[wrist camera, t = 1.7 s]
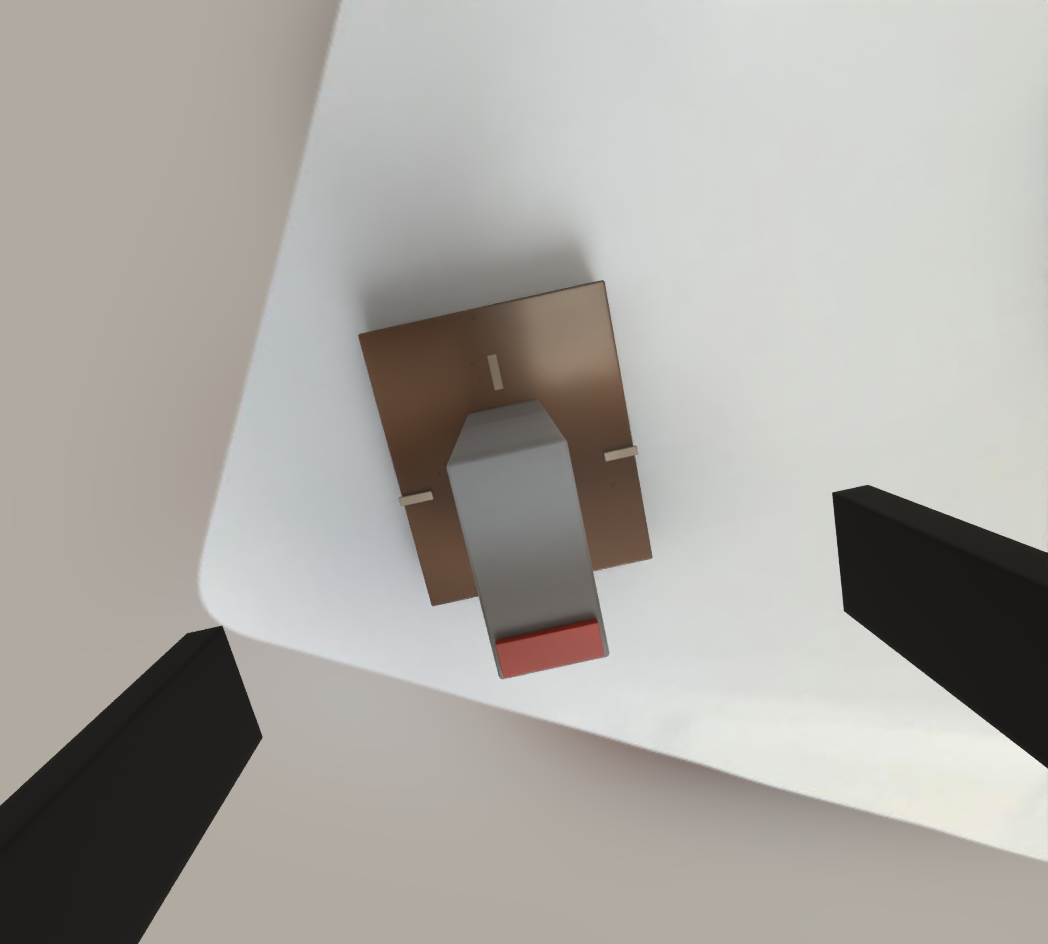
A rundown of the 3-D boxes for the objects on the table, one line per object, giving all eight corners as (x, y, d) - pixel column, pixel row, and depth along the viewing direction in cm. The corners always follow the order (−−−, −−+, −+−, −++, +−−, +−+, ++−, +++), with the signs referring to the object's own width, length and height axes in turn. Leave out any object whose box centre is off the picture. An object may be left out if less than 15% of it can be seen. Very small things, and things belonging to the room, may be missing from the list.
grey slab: (467, 413, 24) (444, 466, 14) (538, 398, 24) (567, 439, 14) (499, 548, 25) (499, 686, 15) (566, 534, 25) (612, 662, 15)
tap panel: (365, 335, 25) (353, 334, 23) (598, 284, 25) (607, 278, 23) (434, 590, 28) (429, 611, 25) (644, 544, 28) (656, 562, 25)
